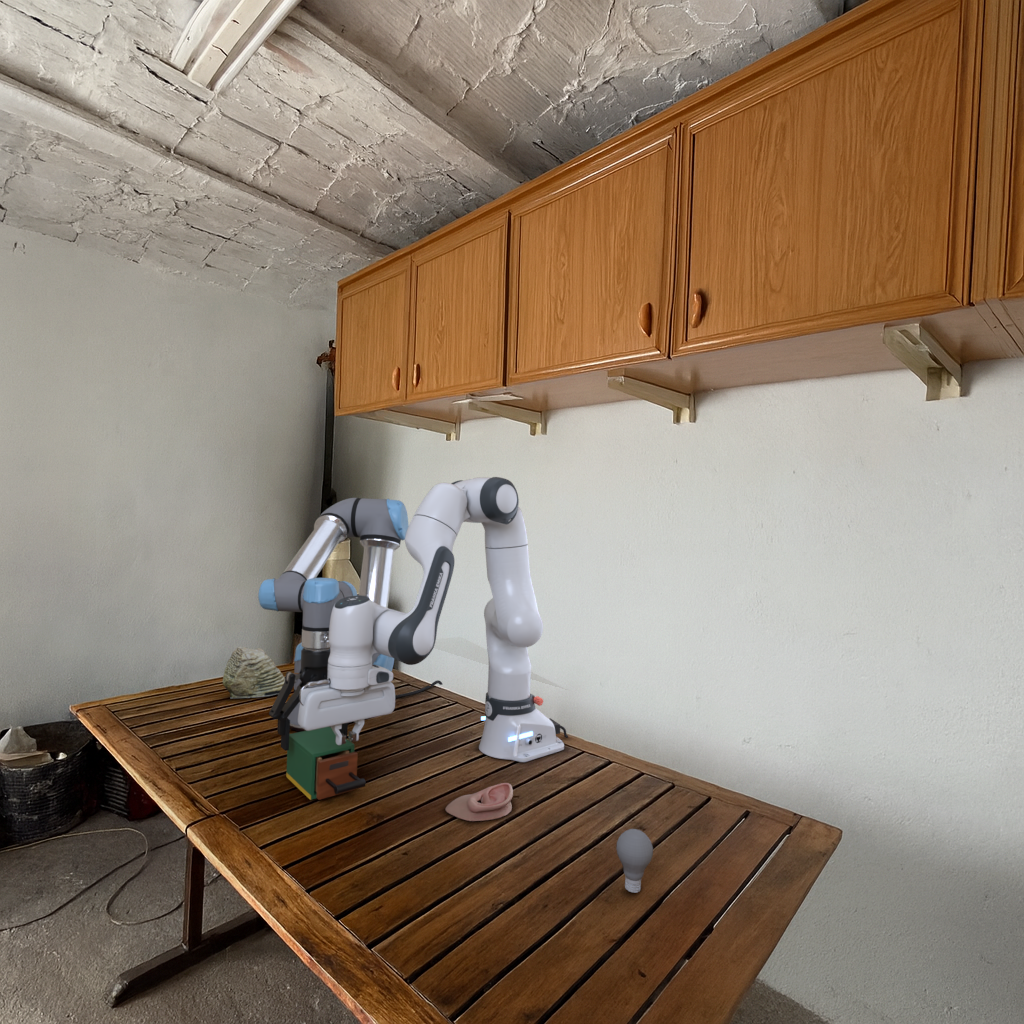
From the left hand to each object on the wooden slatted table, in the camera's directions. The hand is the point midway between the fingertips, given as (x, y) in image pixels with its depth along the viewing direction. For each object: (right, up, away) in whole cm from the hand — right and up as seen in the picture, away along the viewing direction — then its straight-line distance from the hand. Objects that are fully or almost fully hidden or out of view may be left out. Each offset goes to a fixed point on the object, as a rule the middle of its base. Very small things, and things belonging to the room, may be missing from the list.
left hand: (314, 742), depth 142 cm
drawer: (+6, -8, -6) cm, 11 cm away
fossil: (-36, -6, +56) cm, 67 cm away
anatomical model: (+38, -10, -11) cm, 40 cm away
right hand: (+10, +4, -11) cm, 16 cm away
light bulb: (+64, -12, -36) cm, 75 cm away
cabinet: (+1, -8, -2) cm, 9 cm away
